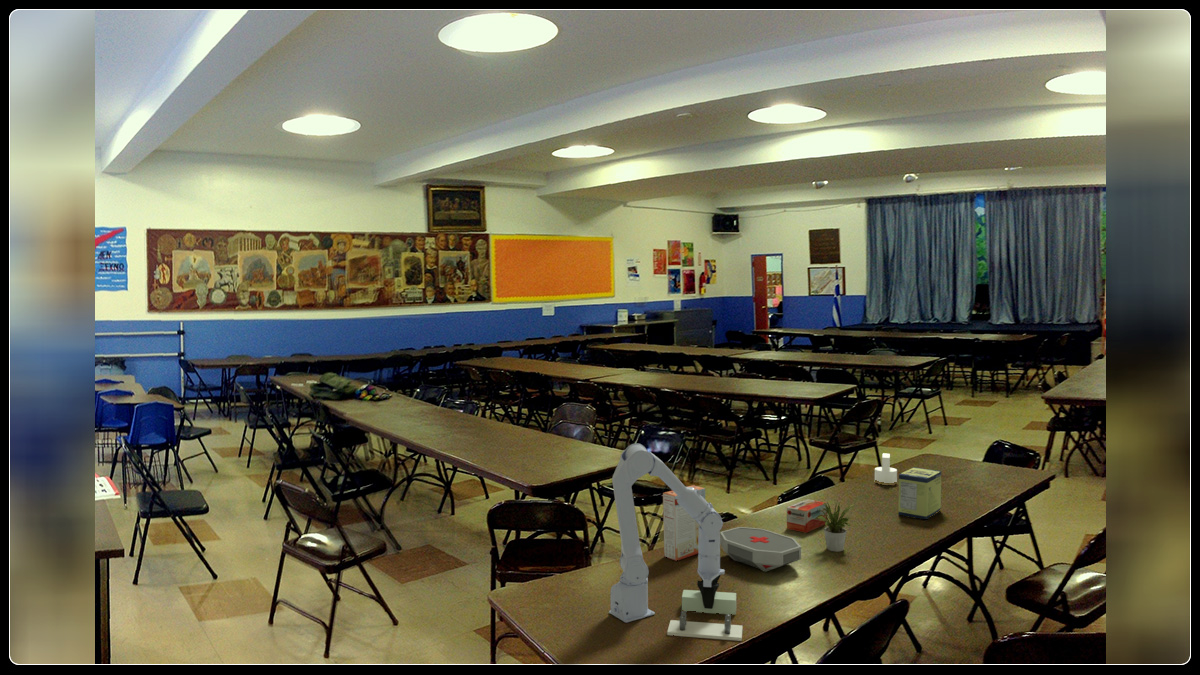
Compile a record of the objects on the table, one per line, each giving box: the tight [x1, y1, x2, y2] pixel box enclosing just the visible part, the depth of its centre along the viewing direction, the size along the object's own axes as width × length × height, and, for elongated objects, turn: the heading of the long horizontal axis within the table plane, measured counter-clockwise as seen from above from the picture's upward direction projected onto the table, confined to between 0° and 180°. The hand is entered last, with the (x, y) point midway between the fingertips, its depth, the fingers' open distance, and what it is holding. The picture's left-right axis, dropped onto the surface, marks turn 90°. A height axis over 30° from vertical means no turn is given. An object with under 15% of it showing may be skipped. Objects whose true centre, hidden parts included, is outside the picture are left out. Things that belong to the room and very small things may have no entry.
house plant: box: [812, 499, 855, 553], centre depth 257 cm, size 14×14×16 cm
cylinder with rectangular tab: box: [874, 452, 898, 483], centre depth 341 cm, size 9×9×12 cm
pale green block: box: [681, 589, 737, 616], centre depth 211 cm, size 14×5×4 cm, turn 79°
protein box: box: [897, 466, 942, 520], centre depth 295 cm, size 10×16×16 cm
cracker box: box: [662, 484, 706, 562], centre depth 253 cm, size 14×6×21 cm, turn 130°
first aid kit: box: [720, 526, 802, 573], centre depth 245 cm, size 18×8×25 cm
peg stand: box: [666, 610, 744, 642], centre depth 197 cm, size 18×7×4 cm, turn 78°
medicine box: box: [786, 498, 828, 534], centre depth 281 cm, size 15×8×8 cm, turn 137°
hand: (709, 603), depth 211 cm, fingers closed on pale green block, 5 cm apart
